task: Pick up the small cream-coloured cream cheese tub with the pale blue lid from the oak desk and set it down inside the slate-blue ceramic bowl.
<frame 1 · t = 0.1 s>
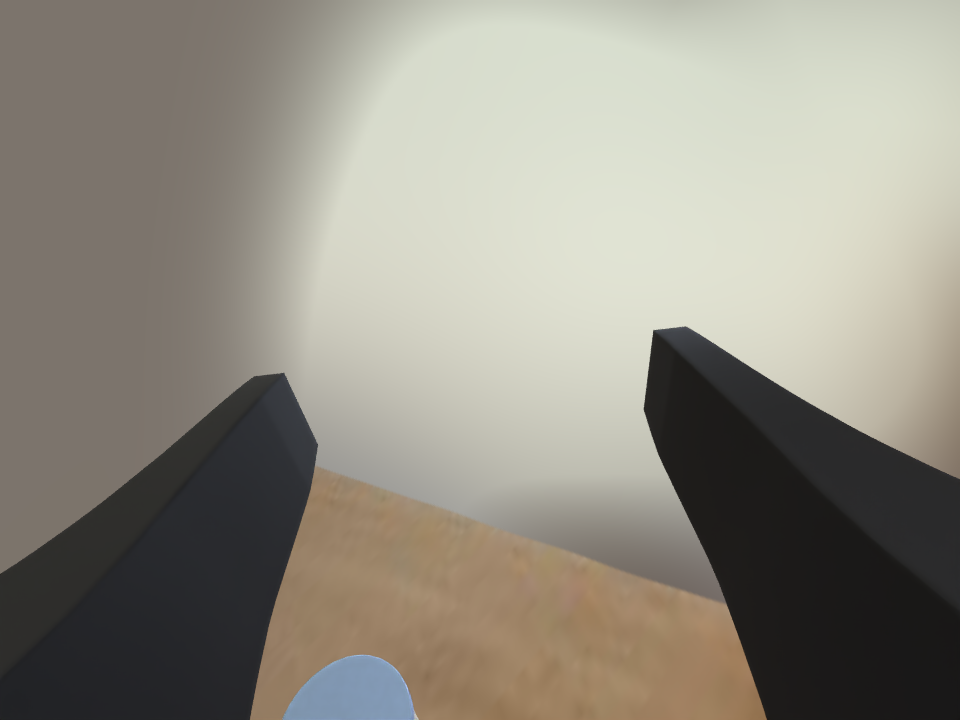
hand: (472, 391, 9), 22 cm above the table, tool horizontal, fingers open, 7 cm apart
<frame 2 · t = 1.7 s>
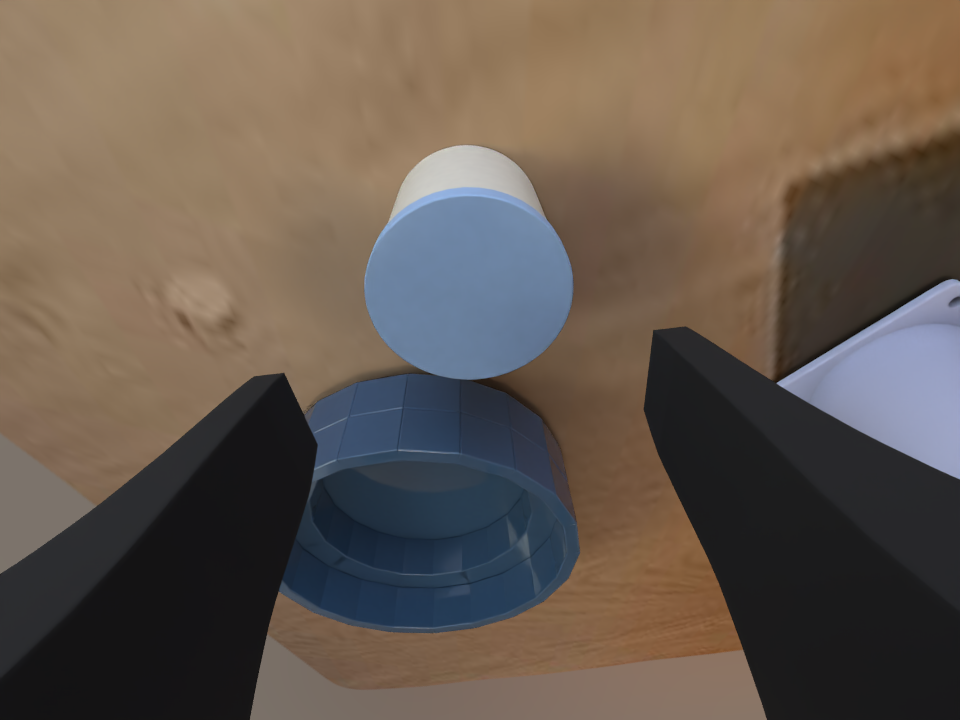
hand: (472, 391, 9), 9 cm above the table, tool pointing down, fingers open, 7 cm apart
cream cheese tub: (467, 222, 17), on the table
bowl: (426, 472, 25), on the table
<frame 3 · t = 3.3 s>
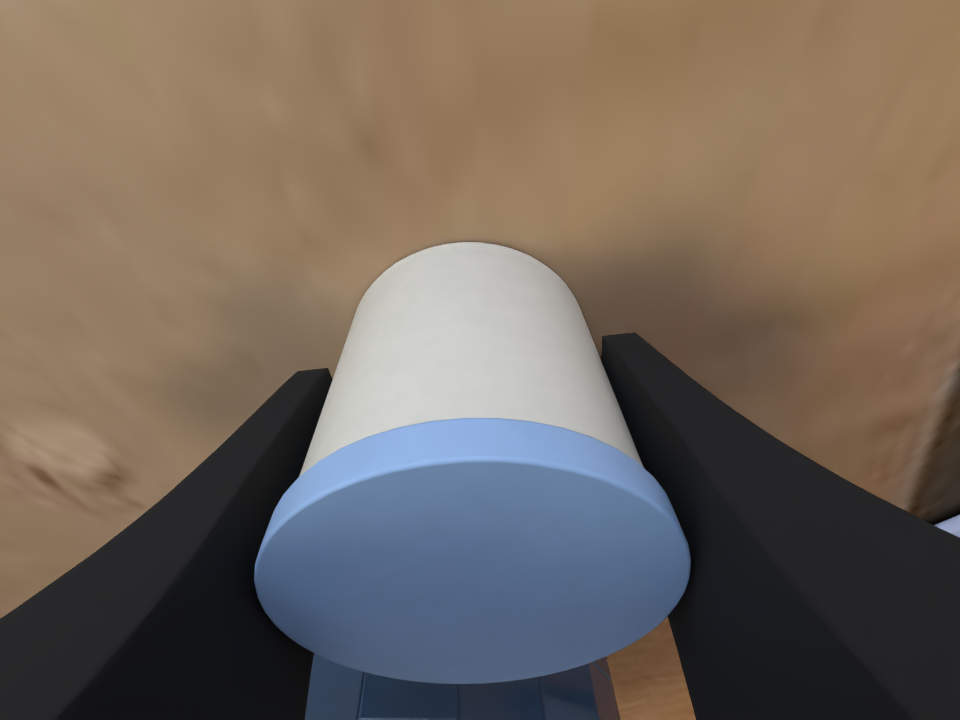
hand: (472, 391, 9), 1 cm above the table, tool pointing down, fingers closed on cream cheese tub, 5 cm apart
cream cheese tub: (469, 350, 11), on the table, touching gripper
bowl: (413, 630, 19), on the table
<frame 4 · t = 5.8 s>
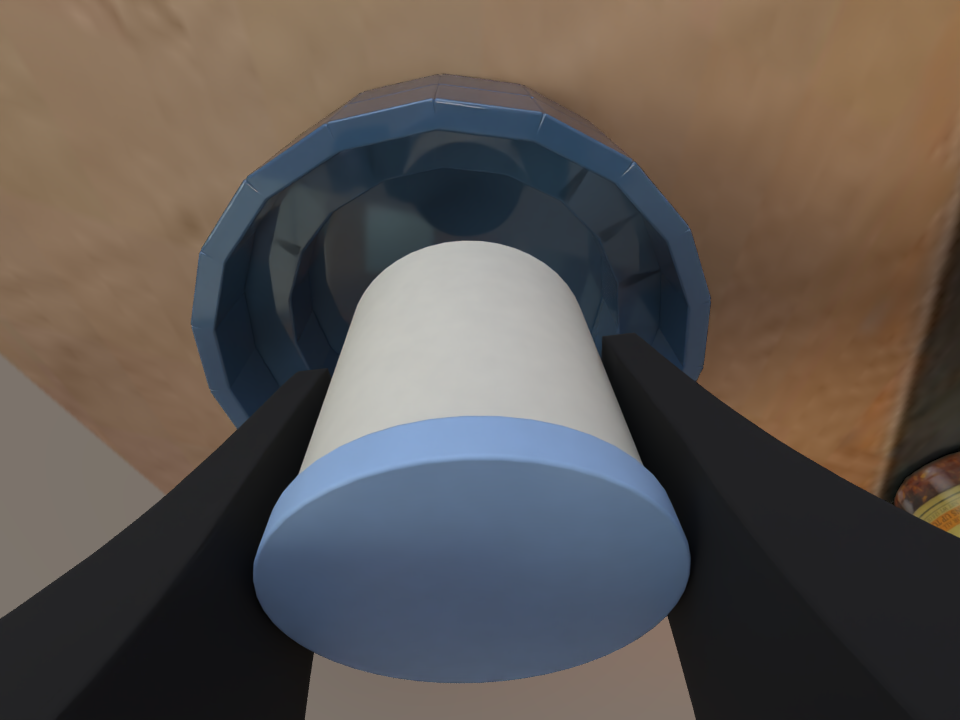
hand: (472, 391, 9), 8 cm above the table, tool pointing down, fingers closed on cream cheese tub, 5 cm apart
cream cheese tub: (468, 349, 11), point 7 cm above the table, touching gripper
sauce bottle: (942, 478, 26), on the table
bowl: (458, 294, 18), on the table
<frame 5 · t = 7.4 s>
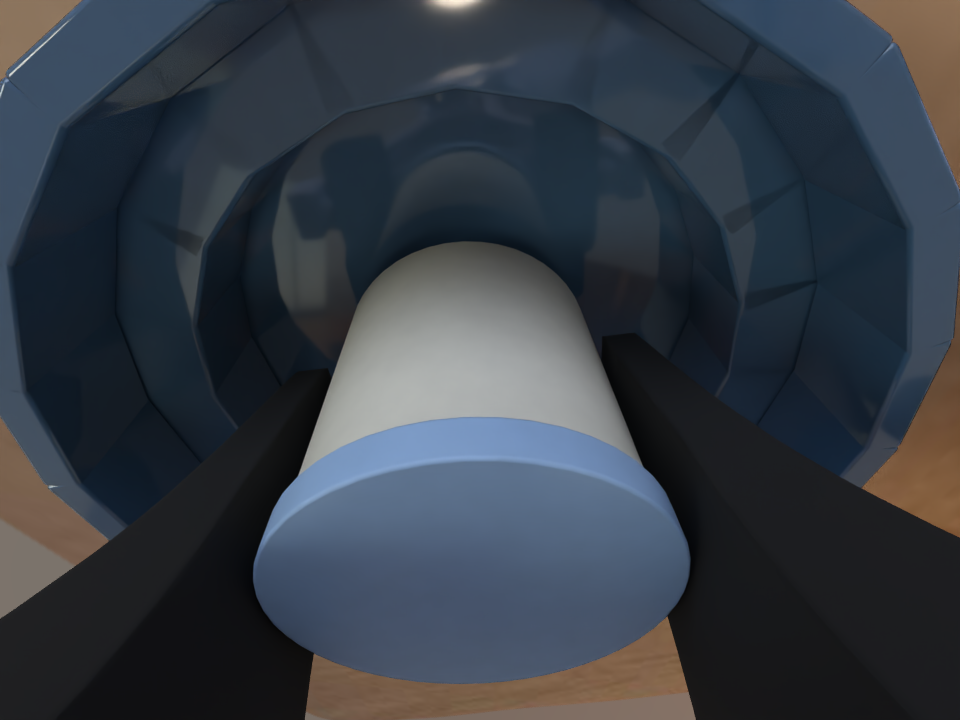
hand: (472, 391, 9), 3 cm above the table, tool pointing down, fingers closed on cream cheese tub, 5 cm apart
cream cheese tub: (468, 350, 11), point 2 cm above the table, touching gripper
bowl: (470, 313, 12), on the table
when the fingers open (2 cm above the table, at t = 8.3 s): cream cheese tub stays where it is, resting on bowl.
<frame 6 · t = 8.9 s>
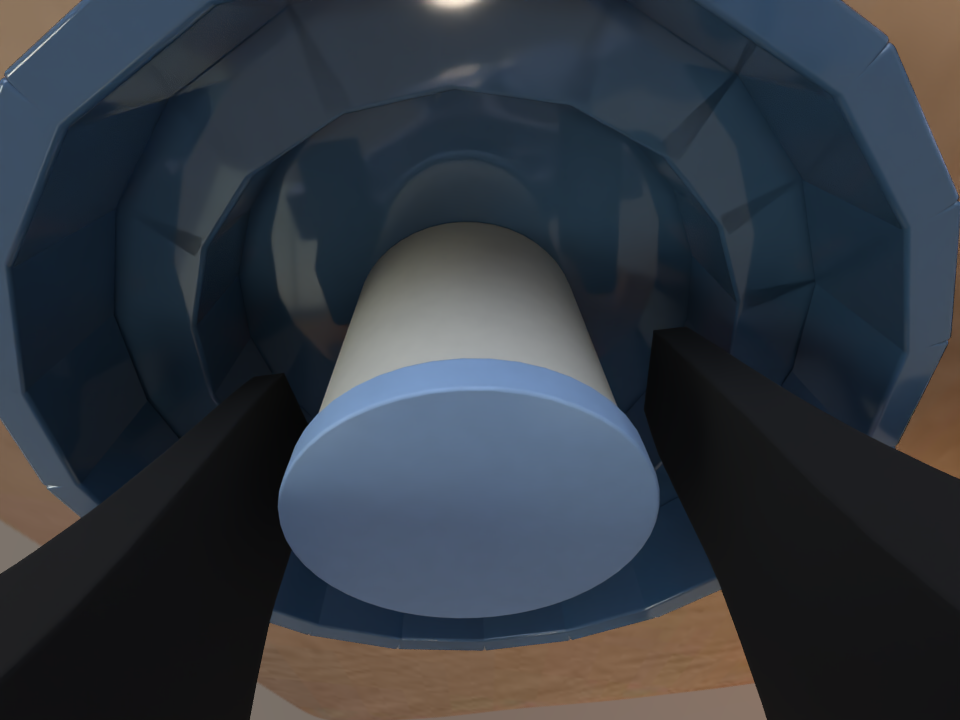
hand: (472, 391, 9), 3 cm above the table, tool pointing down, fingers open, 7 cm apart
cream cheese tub: (467, 325, 11), point 1 cm above the table, touching bowl
bowl: (469, 313, 12), on the table
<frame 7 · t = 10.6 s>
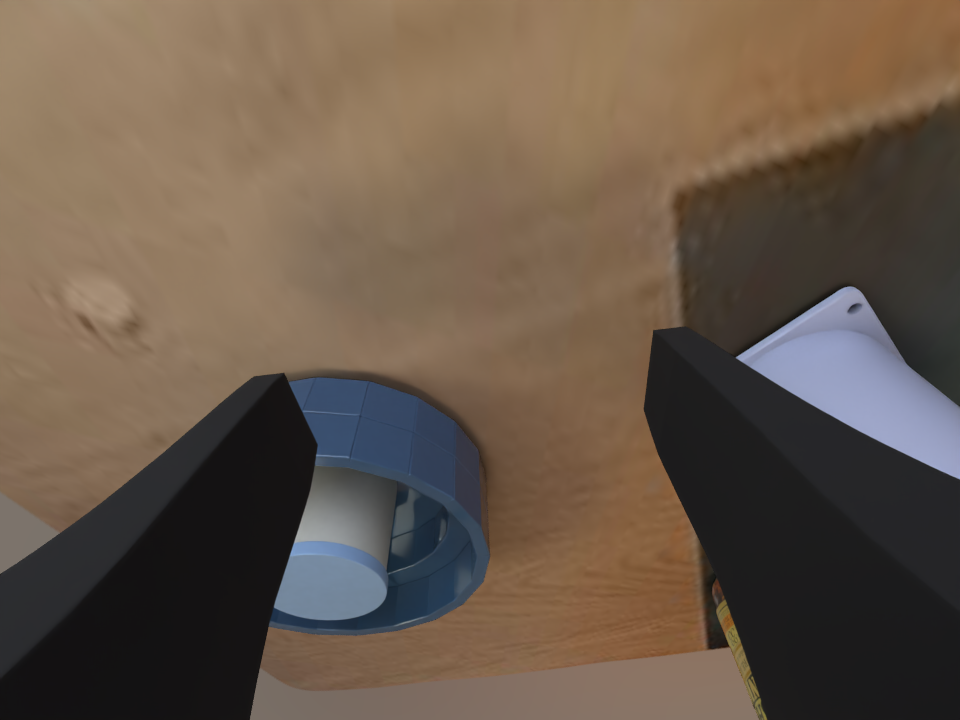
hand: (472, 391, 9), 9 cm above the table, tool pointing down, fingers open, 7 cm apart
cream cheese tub: (347, 483, 25), point 1 cm above the table, touching bowl
sauce bottle: (748, 576, 33), on the table
bowl: (350, 474, 25), on the table
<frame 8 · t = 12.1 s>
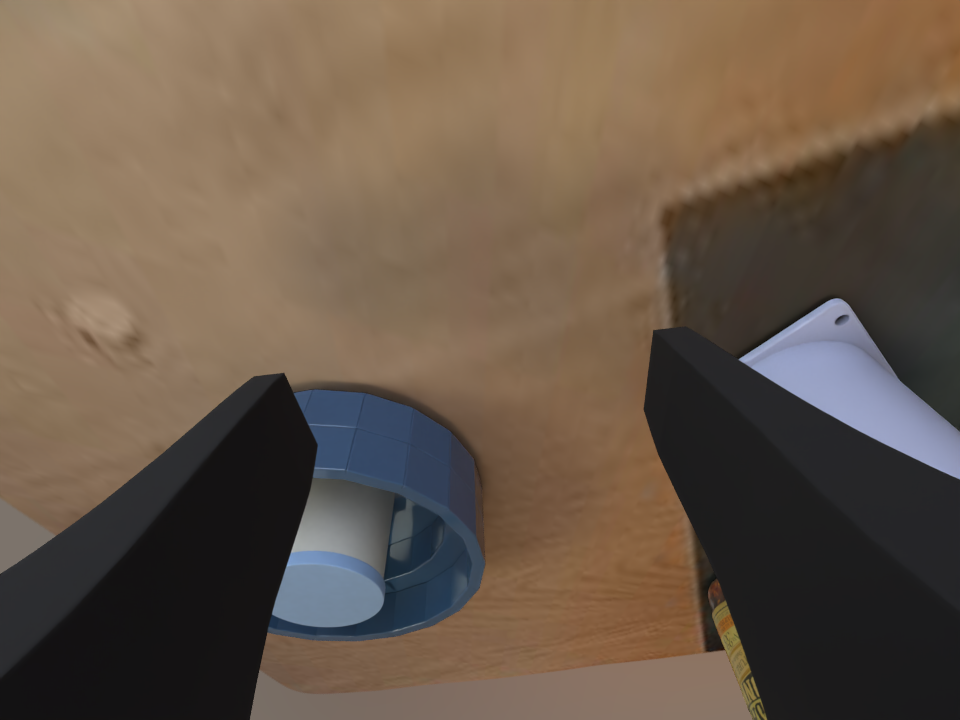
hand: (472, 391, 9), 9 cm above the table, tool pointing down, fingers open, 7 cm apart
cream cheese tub: (345, 492, 25), point 1 cm above the table, touching bowl
sauce bottle: (744, 579, 33), on the table
bowl: (348, 483, 25), on the table
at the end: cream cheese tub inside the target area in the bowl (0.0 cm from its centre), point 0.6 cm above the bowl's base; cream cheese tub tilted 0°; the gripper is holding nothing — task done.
